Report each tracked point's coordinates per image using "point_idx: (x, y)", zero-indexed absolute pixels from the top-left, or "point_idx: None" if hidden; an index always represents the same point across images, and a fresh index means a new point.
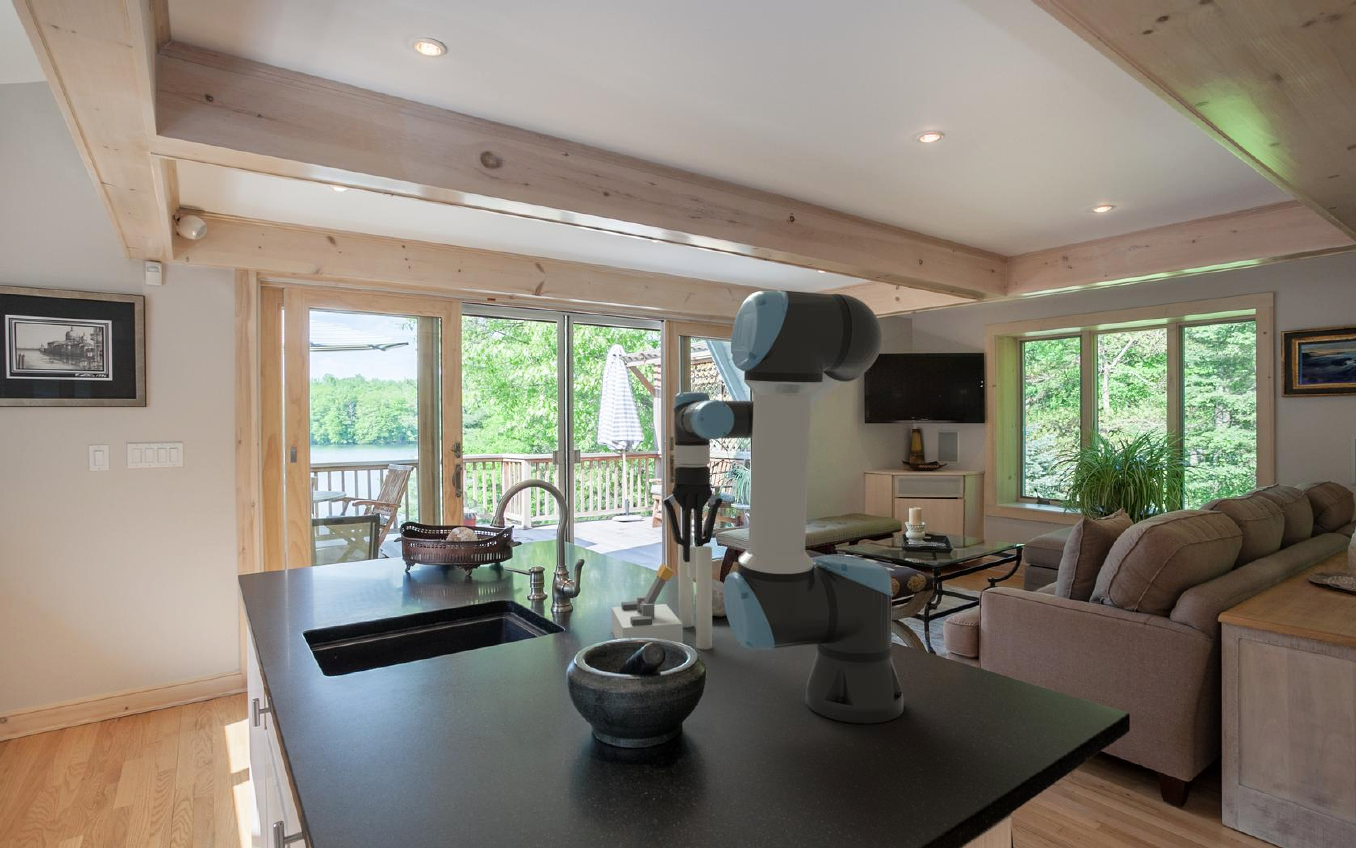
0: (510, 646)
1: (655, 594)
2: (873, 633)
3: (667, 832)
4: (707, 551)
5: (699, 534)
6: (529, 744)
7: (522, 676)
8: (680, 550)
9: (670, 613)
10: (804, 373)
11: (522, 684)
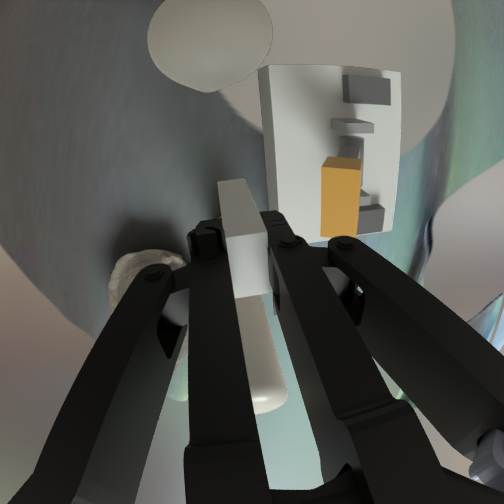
0: (486, 161)
1: (348, 152)
2: None
3: None
4: None
5: (212, 291)
6: None
7: (480, 41)
8: (271, 344)
9: (284, 161)
10: None
11: (477, 16)
